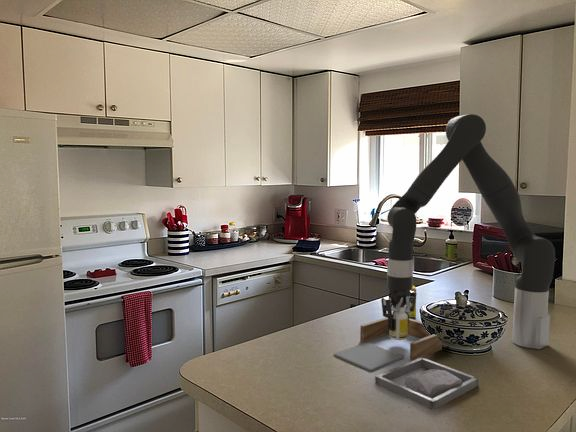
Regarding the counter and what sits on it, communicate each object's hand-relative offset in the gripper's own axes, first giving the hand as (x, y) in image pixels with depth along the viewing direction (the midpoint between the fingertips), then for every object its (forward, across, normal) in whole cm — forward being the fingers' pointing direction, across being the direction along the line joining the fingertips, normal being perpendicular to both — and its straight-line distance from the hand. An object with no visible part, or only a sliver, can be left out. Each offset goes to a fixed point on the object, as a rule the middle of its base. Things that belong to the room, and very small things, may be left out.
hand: (398, 328), depth 150 cm
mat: (+5, -13, 0) cm, 14 cm away
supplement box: (+6, +24, +16) cm, 30 cm away
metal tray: (+5, -15, -21) cm, 27 cm away
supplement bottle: (+3, 0, 0) cm, 3 cm away
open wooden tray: (+5, +3, 0) cm, 6 cm away
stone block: (+6, -16, -23) cm, 29 cm away
